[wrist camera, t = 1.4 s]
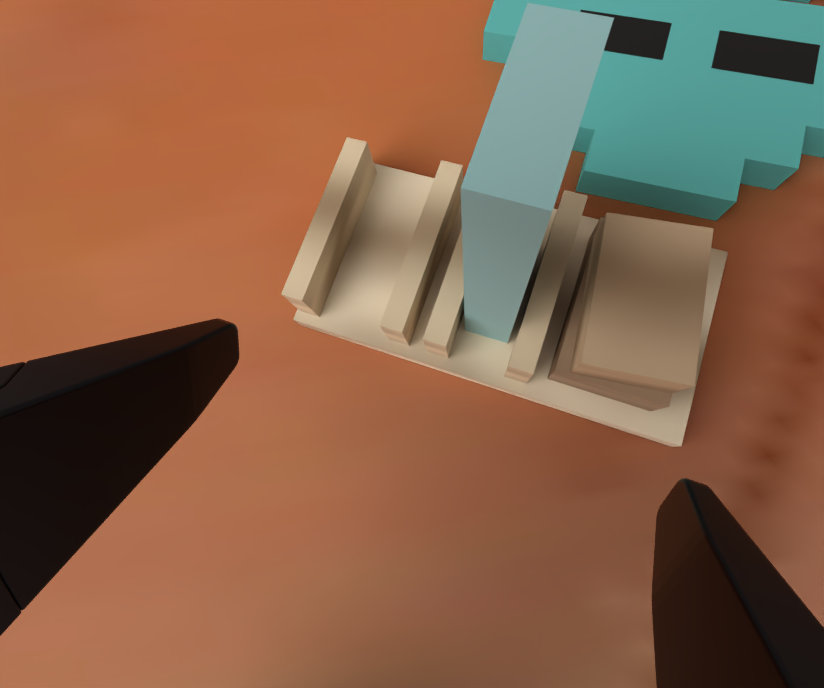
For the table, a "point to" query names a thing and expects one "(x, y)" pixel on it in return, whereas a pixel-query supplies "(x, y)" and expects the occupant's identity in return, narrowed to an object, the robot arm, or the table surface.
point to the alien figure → (692, 97)
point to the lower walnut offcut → (604, 388)
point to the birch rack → (454, 289)
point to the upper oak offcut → (643, 303)
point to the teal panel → (524, 159)
